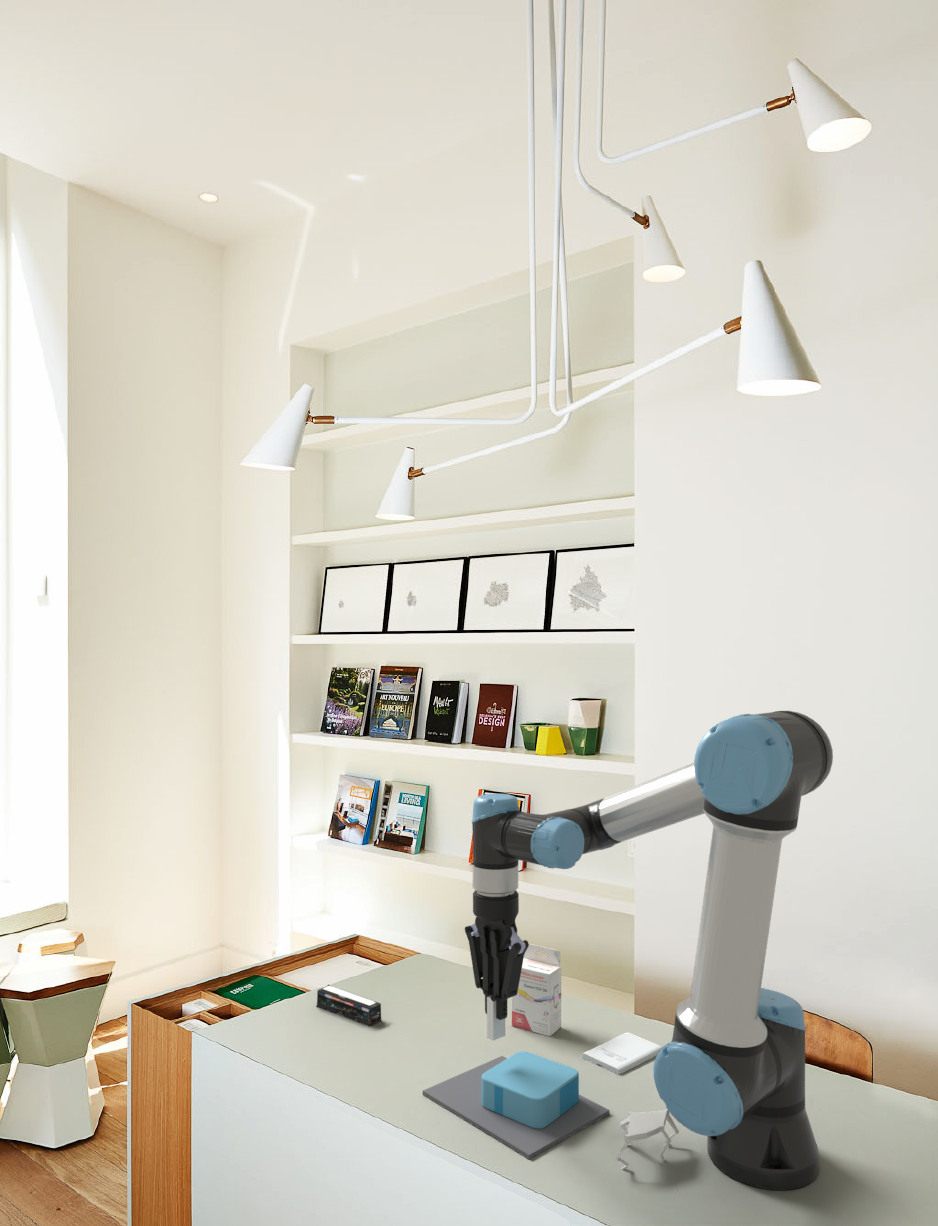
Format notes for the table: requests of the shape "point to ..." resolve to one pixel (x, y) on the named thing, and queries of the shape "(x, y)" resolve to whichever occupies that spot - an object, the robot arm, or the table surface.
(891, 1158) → the table surface
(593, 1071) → the table surface
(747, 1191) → the table surface
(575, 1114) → the mat
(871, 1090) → the table surface
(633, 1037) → the external hard drive
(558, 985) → the ink cartridge box
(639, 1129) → the origami figure
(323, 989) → the bus
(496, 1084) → the data package
